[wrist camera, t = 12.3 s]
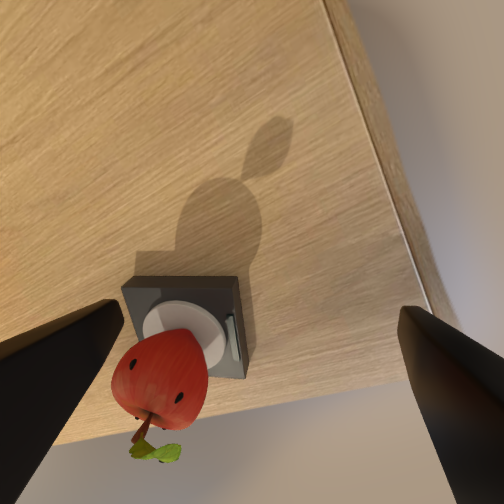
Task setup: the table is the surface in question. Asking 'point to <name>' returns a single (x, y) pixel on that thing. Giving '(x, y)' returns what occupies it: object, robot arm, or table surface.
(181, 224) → the table surface
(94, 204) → the table surface
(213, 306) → the scale
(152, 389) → the spotted red fruit
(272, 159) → the table surface
